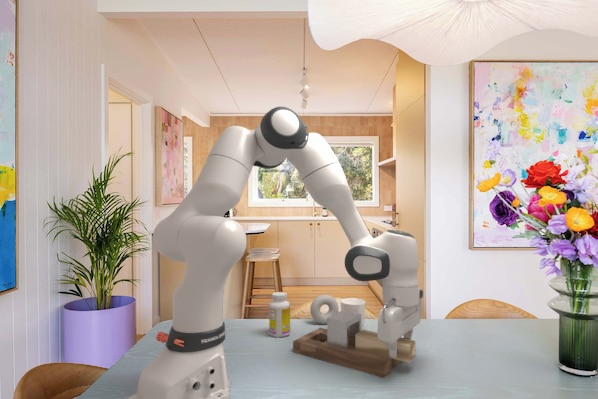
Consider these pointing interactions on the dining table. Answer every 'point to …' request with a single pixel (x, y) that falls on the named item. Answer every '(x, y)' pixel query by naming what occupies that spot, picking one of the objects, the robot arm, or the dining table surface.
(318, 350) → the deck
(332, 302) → the donut
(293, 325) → the dining table surface
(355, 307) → the white cup
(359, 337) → the gold bar
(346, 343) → the tunnel
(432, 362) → the dining table surface
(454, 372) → the dining table surface
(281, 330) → the supplement bottle
